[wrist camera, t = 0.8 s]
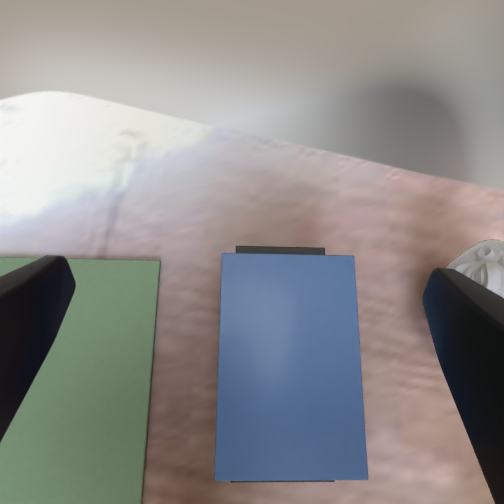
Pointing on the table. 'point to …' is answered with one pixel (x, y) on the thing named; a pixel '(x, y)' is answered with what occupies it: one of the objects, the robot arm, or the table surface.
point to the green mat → (88, 393)
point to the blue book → (289, 370)
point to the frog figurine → (483, 264)
